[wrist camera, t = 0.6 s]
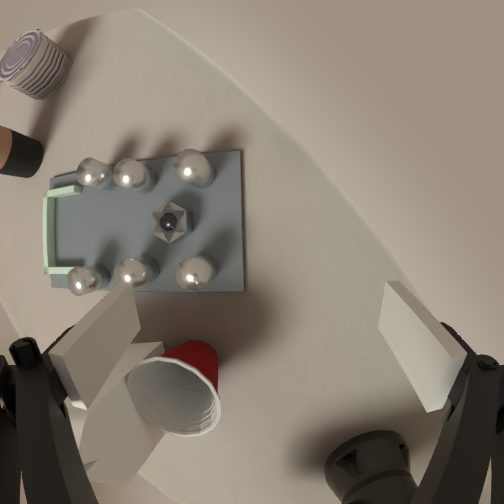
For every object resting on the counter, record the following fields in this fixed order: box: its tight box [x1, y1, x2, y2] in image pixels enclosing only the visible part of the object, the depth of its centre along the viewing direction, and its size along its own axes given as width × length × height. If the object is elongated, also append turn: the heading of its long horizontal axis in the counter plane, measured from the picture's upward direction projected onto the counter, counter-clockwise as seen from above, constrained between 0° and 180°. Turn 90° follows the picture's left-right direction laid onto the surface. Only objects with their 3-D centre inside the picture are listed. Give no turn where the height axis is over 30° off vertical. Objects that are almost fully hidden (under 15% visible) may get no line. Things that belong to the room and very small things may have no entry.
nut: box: [152, 200, 193, 243], centre depth 35 cm, size 5×4×3 cm
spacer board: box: [50, 151, 244, 292], centre depth 38 cm, size 18×32×1 cm, turn 92°
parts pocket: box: [43, 185, 82, 274], centre depth 37 cm, size 13×7×2 cm, turn 2°
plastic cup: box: [127, 341, 221, 437], centre depth 32 cm, size 11×11×12 cm
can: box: [0, 29, 72, 100], centre depth 32 cm, size 11×11×12 cm
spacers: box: [67, 149, 218, 296], centre depth 34 cm, size 18×20×6 cm
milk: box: [64, 342, 166, 484], centre depth 26 cm, size 12×12×26 cm
